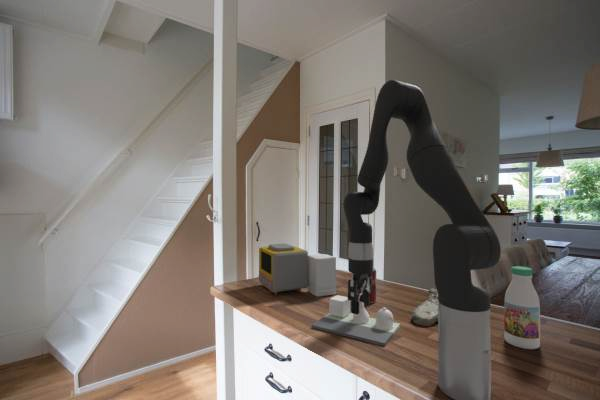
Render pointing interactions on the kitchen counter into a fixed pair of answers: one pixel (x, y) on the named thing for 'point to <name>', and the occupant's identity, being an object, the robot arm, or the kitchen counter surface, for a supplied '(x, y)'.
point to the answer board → (356, 328)
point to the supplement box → (322, 275)
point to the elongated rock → (427, 310)
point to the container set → (360, 312)
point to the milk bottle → (522, 310)
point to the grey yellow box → (283, 267)
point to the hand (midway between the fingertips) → (360, 309)
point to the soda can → (373, 292)
